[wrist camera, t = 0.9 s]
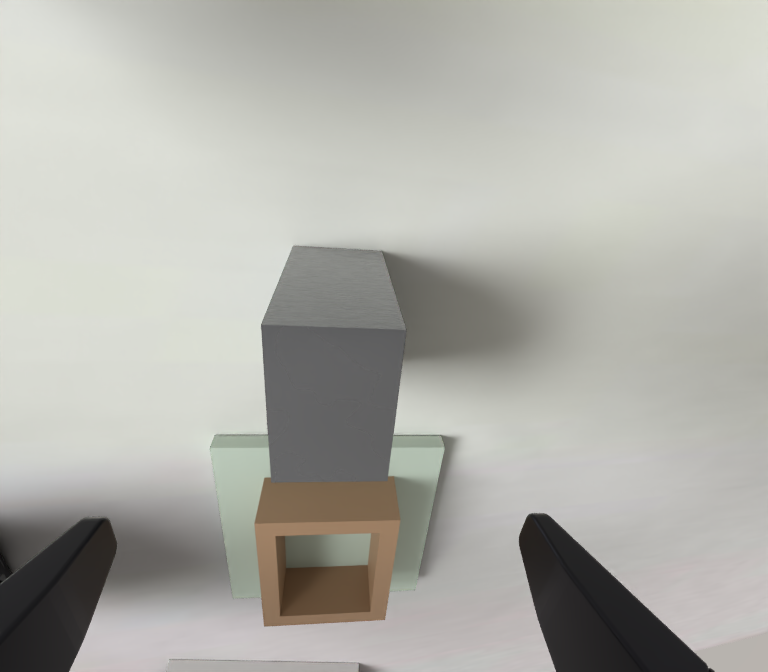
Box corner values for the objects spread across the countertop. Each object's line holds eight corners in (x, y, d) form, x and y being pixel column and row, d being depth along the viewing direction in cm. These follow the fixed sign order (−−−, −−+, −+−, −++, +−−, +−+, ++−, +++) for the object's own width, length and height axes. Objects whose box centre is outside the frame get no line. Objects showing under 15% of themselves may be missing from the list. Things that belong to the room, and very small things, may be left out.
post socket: (236, 584, 29) (221, 648, 25) (214, 435, 22) (190, 493, 19) (413, 576, 30) (422, 636, 27) (440, 435, 24) (458, 489, 20)
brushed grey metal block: (295, 360, 21) (270, 482, 14) (293, 245, 18) (261, 324, 11) (372, 362, 21) (387, 481, 14) (381, 251, 18) (406, 329, 11)
